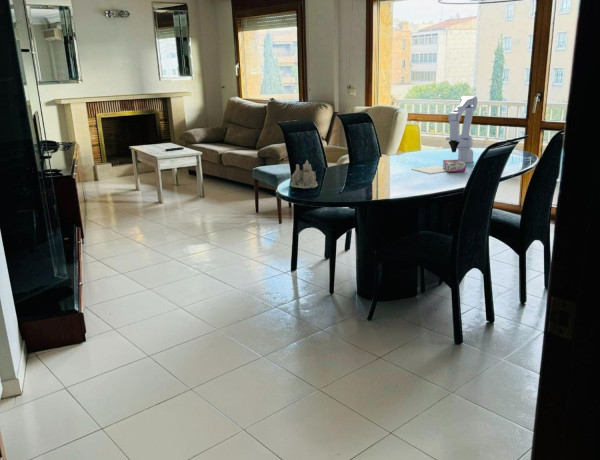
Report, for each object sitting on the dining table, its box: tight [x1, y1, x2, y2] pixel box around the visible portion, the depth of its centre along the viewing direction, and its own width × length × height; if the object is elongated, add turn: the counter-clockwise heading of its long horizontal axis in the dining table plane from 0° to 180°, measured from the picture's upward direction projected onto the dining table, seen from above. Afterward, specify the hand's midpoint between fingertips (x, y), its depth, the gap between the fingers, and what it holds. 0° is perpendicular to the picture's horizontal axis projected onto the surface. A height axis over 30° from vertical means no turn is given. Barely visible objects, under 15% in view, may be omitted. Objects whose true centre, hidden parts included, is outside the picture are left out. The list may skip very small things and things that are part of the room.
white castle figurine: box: [290, 159, 319, 189], centre depth 325 cm, size 16×16×15 cm
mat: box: [411, 164, 448, 175], centre depth 351 cm, size 20×20×1 cm
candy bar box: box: [442, 159, 467, 173], centre depth 345 cm, size 11×5×16 cm
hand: (453, 152), depth 355 cm, fingers closed
